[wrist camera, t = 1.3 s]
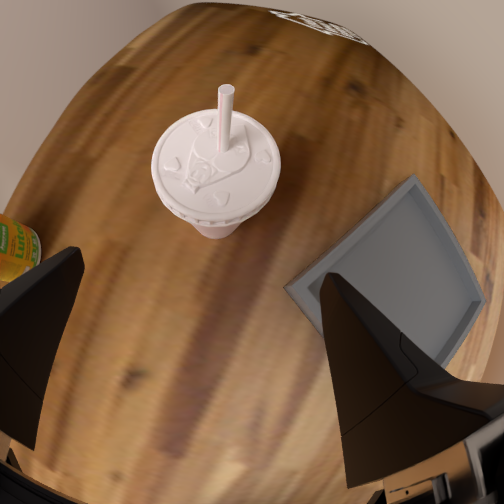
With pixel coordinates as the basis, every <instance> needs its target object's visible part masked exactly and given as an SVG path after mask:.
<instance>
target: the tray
mask: <svg viewBox="0 0 504 504" xmlns="http://www.w3.org/2000/svg"><path fill="white" fill-rule="evenodd" d="M328 272H335V273H339V274H340V275H341V276H342V277H343V278H344V279H346V280H347V281H348V282H349V283H350V284H351V285H352V286H353V287H355V288H356V289H357V290H358V291H359V292H360V293H361V294H362V295H363V296H364V297H366V298H367V299H368V300H369V301H370V302H371V303H372V304H373V305H374V306H375V307H376V308H377V309H379V310H380V311H381V312H382V313H383V314H384V315H385V316H386V317H387V318H388V319H389V320H390V321H391V322H392V323H393V324H394V325H396V326H397V327H398V328H399V329H400V330H401V332H403V333H404V334H405V335H406V336H407V337H408V338H409V339H410V340H411V341H412V342H413V343H415V344H416V345H417V346H418V347H419V348H420V349H421V350H422V351H424V352H425V353H426V354H427V355H428V356H429V357H431V358H432V359H433V360H434V361H435V362H436V363H438V364H439V365H440V366H441V367H442V368H444V369H445V368H446V366H447V365H448V364H449V362H450V361H451V359H452V358H453V356H454V355H455V353H456V352H457V350H458V349H459V347H460V346H461V344H462V343H463V341H464V340H465V338H466V336H467V335H468V333H469V331H470V330H471V328H472V326H473V325H474V323H475V321H476V319H477V318H478V316H479V314H480V312H481V310H482V308H483V306H484V305H485V303H486V299H485V296H484V294H483V292H482V289H481V287H480V285H479V283H478V280H477V278H476V276H475V274H474V272H473V270H472V268H471V266H470V264H469V262H468V260H467V258H466V256H465V254H464V252H463V250H462V248H461V246H460V244H459V243H458V241H457V239H456V237H455V235H454V234H453V232H452V230H451V229H450V227H449V225H448V223H447V222H446V220H445V218H444V217H443V215H442V214H441V212H440V210H439V209H438V207H437V206H436V204H435V203H434V201H433V200H432V198H431V197H430V195H429V194H428V192H427V191H426V189H425V188H424V187H423V185H422V184H421V182H420V181H419V180H418V178H417V177H416V175H415V174H412V175H411V176H410V177H408V178H407V179H405V180H404V181H402V182H401V183H400V184H399V185H398V186H396V187H395V188H394V189H393V190H392V191H391V192H390V193H389V194H388V195H387V196H386V197H385V198H384V199H383V200H382V201H381V202H380V203H379V204H377V205H376V206H375V207H374V208H373V209H372V210H371V211H370V212H369V213H368V214H367V215H366V216H365V217H363V218H362V219H361V220H360V221H359V222H358V223H357V224H356V225H355V226H354V227H352V228H351V229H350V230H349V231H348V232H347V233H346V234H345V235H344V236H342V237H341V238H340V239H339V240H338V241H337V242H336V243H335V244H333V245H332V246H331V247H330V248H329V249H328V250H327V251H325V252H324V253H323V254H322V255H321V256H320V257H319V258H317V259H316V260H315V261H314V262H313V263H312V264H310V265H309V266H308V267H307V268H306V269H305V270H303V271H302V272H301V273H300V274H299V275H298V276H296V277H295V278H294V279H293V280H292V281H290V282H289V283H288V284H287V285H286V286H284V287H283V288H284V289H285V290H286V291H287V293H288V294H289V295H290V297H291V298H292V299H293V300H294V302H295V303H296V304H297V305H298V307H299V308H300V309H301V310H302V312H303V313H304V314H305V316H306V317H307V318H308V319H309V321H310V322H311V323H312V324H313V326H314V327H315V328H316V330H317V331H318V332H319V333H320V335H321V336H322V337H323V338H324V335H323V329H322V318H321V307H320V297H319V292H320V288H321V285H322V283H323V280H324V278H325V275H326V274H327V273H328Z"/></svg>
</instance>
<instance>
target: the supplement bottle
mask: <svg viewBox="0 0 504 504" xmlns="http://www.w3.org/2000/svg"><path fill="white" fill-rule="evenodd" d="M40 259H41V244H40V240H39V238H38V235H37V234H36V232H35V231H34V230H33V229H31V228H29V227H27V226H25V225H23V224H21V223H19V222H17V221H15V220H12V219H10V218H8V217H6V216H4V215H2V214H0V280H2V281H8V282H11V281H13V280H14V279H16V278H17V277H19V276H21V275H22V274H24V273H25V272H27V271H29V270H30V269H32V268H33V267H35V266H37V265H38V264H39V263H40Z"/></svg>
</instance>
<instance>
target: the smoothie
mask: <svg viewBox="0 0 504 504" xmlns="http://www.w3.org/2000/svg"><path fill="white" fill-rule="evenodd" d="M233 98H234V87H233V86H231V85H228V84H225V85H221V86H220V87H219V89H218V109H209V110H203V111H198V112H195V113H192V114H190V115H187V116H185V117H183V118H181V119H180V120H178V121H177V122H175V123H174V124H173V125H171V126H170V127H169V128H168V129H167V130H166V131H165V132H164V134H163V135H162V136H161V138H160V139H159V141H158V143H157V145H156V147H155V149H154V152H153V156H152V163H151V170H152V177H153V181H154V184H155V187H156V191H157V193H158V195H159V197H160V198H161V200H162V202H163V204H164V205H165V206H166V207H167V208H168V209H169V210H170V211H171V212H172V213H173V214H175V215H176V216H178V217H179V218H181V219H183V220H185V221H187V222H189V223H191V224H192V225H193V226H194V227H195V228H196V229H197V230H198V231H199V232H200V233H201V234H202V235H204V236H206V237H208V238H212V239H221V238H224V237H227V236H228V235H230V234H231V233H232V232H233V231H234V230H235V229H236V228H237V227H238V226H239V225H240V223H241V222H243V221H245V220H246V219H248V218H250V217H251V216H253V215H255V214H256V213H258V212H259V211H260V210H261V209H262V208H263V207H264V205H265V204H266V203H267V202H268V201H269V200H270V198H271V196H272V194H273V192H274V190H275V188H276V184H277V181H278V178H279V174H280V168H281V161H280V154H279V150H278V147H277V144H276V142H275V140H274V139H273V137H272V136H271V134H270V133H269V132H268V130H267V129H266V128H265V127H264V126H263V125H261V124H260V123H259V122H258V121H256V120H255V119H253V118H251V117H249V116H247V115H245V114H243V113H240V112H236V111H232V108H233Z"/></svg>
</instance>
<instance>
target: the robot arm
mask: <svg viewBox="0 0 504 504" xmlns="http://www.w3.org/2000/svg"><path fill="white" fill-rule="evenodd" d="M84 269H85V265H84V261H83V257H82V253H81V250H80V248H79V247H73V246H70V247H68V248H66V249H64V250H62V251H61V252H59V253H57V254H55V255H54V256H52V257H50V258H48V259H47V260H45V261H43V262H42V263H40V264H38V265H37V266H35V267H33V268H32V269H30V270H29V271H27V272H25V273H24V274H22V275H21V276H19V277H17V278H16V279H14V280H13V281H11V282H10V283H8V284H7V285H5V286H4V287H2V289H0V504H87V503H85V502H82V501H80V500H77V499H75V498H72V497H70V496H67V495H65V494H63V493H61V492H58V491H56V490H54V489H52V488H50V487H48V486H46V485H44V484H42V483H40V482H38V481H36V480H34V479H33V478H31V477H29V476H27V475H25V474H24V473H23V472H22V470H21V468H20V466H19V464H18V462H17V459H16V457H15V455H14V452H13V450H12V449H11V448H10V447H9V446H10V442H11V439H13V440H15V441H16V442H18V443H20V444H22V445H23V446H25V447H27V448H29V449H31V450H33V451H34V449H35V443H36V436H37V430H38V425H39V419H40V414H41V409H42V405H43V400H44V395H45V391H46V387H47V383H48V380H49V376H50V372H51V369H52V365H53V362H54V359H55V356H56V352H57V349H58V346H59V343H60V340H61V337H62V335H63V332H64V329H65V326H66V323H67V321H68V318H69V315H70V313H71V310H72V308H73V305H74V302H75V299H76V295H77V292H78V289H79V286H80V283H81V279H82V276H83V273H84ZM319 297H320V307H321V318H322V329H323V335H324V340H325V345H326V351H327V356H328V361H329V366H330V372H331V377H332V383H333V389H334V395H335V401H336V407H337V413H338V419H339V426H340V433H341V436H342V437H341V441H342V448H343V456H344V464H345V473H346V482H347V488H348V489H349V488H354V487H358V486H362V485H365V484H369V483H373V482H376V481H379V480H383V484H384V489H382V490H379V491H375V493H374V494H373V496H372V497H371V498H370V500H369V501H368V503H367V504H504V385H501V384H489V383H480V382H471V381H464V380H460V379H458V378H455V377H454V376H452V375H451V374H449V373H448V372H447V371H446V370H445V369H444V368H442V367H441V366H440V365H439V364H438V363H436V362H435V361H434V360H433V359H432V358H431V357H429V356H428V355H427V354H426V353H425V352H424V351H422V350H421V349H420V348H419V347H418V346H417V345H416V344H415V343H413V342H412V341H411V340H410V339H409V338H408V337H407V336H406V335H405V334H404V333H403V332H401V330H400V329H399V328H398V327H397V326H396V325H394V324H393V323H392V322H391V321H390V320H389V319H388V318H387V317H386V316H385V315H384V314H383V313H382V312H381V311H380V310H379V309H377V308H376V307H375V306H374V305H373V304H372V303H371V302H370V301H369V300H368V299H367V298H366V297H364V296H363V295H362V294H361V293H360V292H359V291H358V290H357V289H356V288H355V287H353V286H352V285H351V284H350V283H349V282H348V281H347V280H346V279H344V278H343V277H342V276H341V275H340V274H339V273H335V272H328V273H327V274H326V275H325V278H324V280H323V283H322V285H321V288H320V292H319Z"/></svg>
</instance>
